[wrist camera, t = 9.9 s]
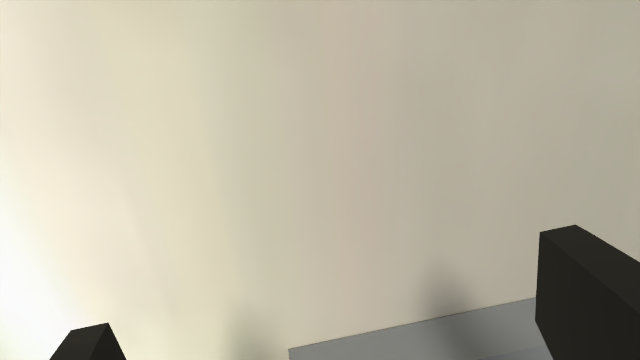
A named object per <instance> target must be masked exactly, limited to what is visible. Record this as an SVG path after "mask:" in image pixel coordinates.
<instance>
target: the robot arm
mask: <svg viewBox="0 0 640 360" xmlns="http://www.w3.org/2000/svg"><path fill="white" fill-rule="evenodd" d="M535 322H536V324H537V326H538V328H539V330H540V333H541V335H542V337H543V339H544V341H545V343H546V346H547V348H548V350H549V352H550V354H551V356H552V358H553V360H640V262H638V261H637V260H635V259H633V258H631V257H630V256H628V255H626V254H625V253H623V252H621V251H620V250H618V249H616V248H615V247H613V246H611V245H610V244H608V243H606V242H605V241H603V240H601V239H600V238H598V237H596V236H595V235H593V234H591V233H589V232H588V231H586V230H584V229H582V228H581V227H579V226H577V225H572V226H567V227H562V228H557V229H552V230H548V231H543V232H540V238H539V255H538V273H537V291H536V309H535ZM50 360H126V358H125V356H124V354H123V352H122V350H121V348H120V346H119V344H118V341H117V339H116V337H115V335H114V333H113V331H112V329H111V327H110V325H109V323H104V324H99V325H94V326H90V327H85V328H80V329H75V330H71V331H70V332H69V334H68V335H67V336H66V338H65V339H64V340H63V342H62V343H61V344H60V346H59V347H58V349H57V350H56V351H55V353H54V354H53V355H52V357H51V358H50Z"/></svg>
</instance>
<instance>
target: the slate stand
mask: <svg viewBox="0 0 640 360" xmlns="http://www.w3.org/2000/svg"><path fill="white" fill-rule="evenodd" d="M535 309H536V298H532V299H527V300H522V301H517V302H513V303H508V304H503V305H498V306H493V307H489V308H484V309H479V310H474V311H469V312H465V313H460V314H455V315H450V316H445V317H441V318H436V319H431V320H426V321H422V322H417V323H412V324H407V325H402V326H398V327H393V328H388V329H383V330H378V331H374V332H369V333H364V334H359V335H354V336H350V337H345V338H340V339H335V340H331V341H326V342H321V343H316V344H311V345H307V346H302V347H297V348H292V349H288V350H289V359H290V360H553V358H552V356H551V354H550V352H549V350H548V348H547V346H546V343H545V341H544V339H543V337H542V335H541V333H540V330H539V328H538V326H537V324H536V322H535Z"/></svg>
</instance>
